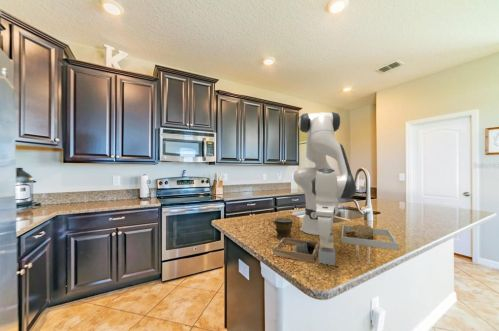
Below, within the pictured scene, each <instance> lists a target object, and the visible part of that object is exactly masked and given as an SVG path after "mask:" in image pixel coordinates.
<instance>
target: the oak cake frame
mask: <svg viewBox="0 0 499 331" xmlns="http://www.w3.org/2000/svg"><path fill="white" fill-rule="evenodd" d="M306 241H308V242H310V243H311V244H313V245H315V249H314V252H313V254H312V255H310V254H304V253H298V252H295V251H291V250H286V249H285V250H283V249H282V248H283V247H284V245H288V244H292V245H291V246H295V245H300V244H306ZM284 243H286V244H284ZM283 244H284V245H283ZM281 247H282V248H281ZM280 248H281V249H280ZM319 248H320V241H313V240H306V239H297V238H291V237H290V238H283V239H280V241H279V242H278V243H277V244H276V245H275V246H274V247H273V248H272V256H273V255H276V256H283V257H288V258H293V259H297V260H296V261H298V260H302V261H301V262H304V261H308V262H307V263H310V262H313V263H312V264H314V263H315V262H316V258H317V256H318V251H319ZM279 249H280V250H279ZM293 259H292V260H293Z"/></svg>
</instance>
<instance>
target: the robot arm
mask: <svg viewBox="0 0 499 331" xmlns="http://www.w3.org/2000/svg"><path fill="white" fill-rule="evenodd" d="M297 125H298V128H299V131H301V132H302V133H306V134H307V137H306V151H305V152H306V155H305V156H306V158H307V160H308V161H310V162H312V163H314V166H315V167H301V168H296V169H295V171H294V172H293V181H294V182H295V183H296V185H298V186H299V187H300V188H301V189H302V191H303V193H304V198H305V208H304V216H302V226H301V227H299V231H301V232H304V233H305V234H309V235H317V236H319V237H320V236H322V237H323V239H324V244H325V245H328V244H329V237H330V233H331V232H333V231H332V229H333V225H334V218H335V217H336V214H339V200H338V199H344V200H350V199H351V198H353V197H354V196H355V194H357V185H356V181H355V179H354V176H353V174H352V171H351V168H350V164H349V161H348V157H347V154H346V150H345V148H344V146H343V144H341V143H339V142H338V141H337V139H336V138H335V132H336V131H338V130H339V129H340V127H341V116H340V115H339V113H338V112H325V111H320V112H310V113H302V114H301V115H300V116H299V119H298V123H297ZM327 156H328V157H331V158H332V159H334V160H335V161H336V162H337V165H338V169H339V172H340V176H339V175H337V172H336V170H335V169H334V168H333V167H332V166H330V164H329V162H328V159H327Z"/></svg>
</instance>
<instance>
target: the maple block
mask: <svg viewBox="0 0 499 331" xmlns="http://www.w3.org/2000/svg"><path fill="white" fill-rule="evenodd" d="M334 246H335V232H334V231H332V232H331V233H330V237H329V244H328V245H325V244H324V239H323V237H322V236H320V235H319V248H320V247H325V248H332V249H333V248H335V247H334Z"/></svg>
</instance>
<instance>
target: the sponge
mask: <svg viewBox="0 0 499 331" xmlns="http://www.w3.org/2000/svg"><path fill="white" fill-rule="evenodd" d="M352 226H353V227H351V229H350V230H349V231H344V234H345V235H344V236H345V237H351V238H359V239H369V238H371V237H373V235H374V234H373V227H371V226H370V225H367V224H355V225H352Z"/></svg>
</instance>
